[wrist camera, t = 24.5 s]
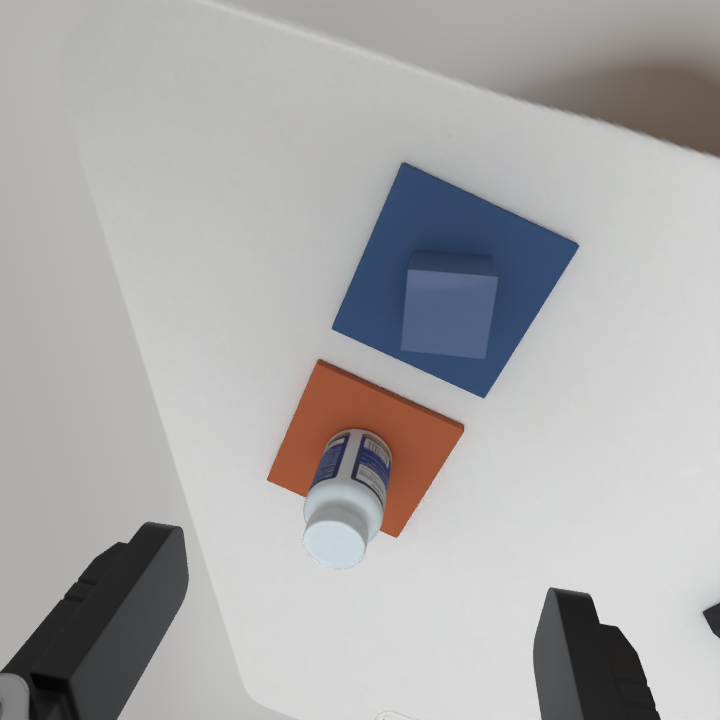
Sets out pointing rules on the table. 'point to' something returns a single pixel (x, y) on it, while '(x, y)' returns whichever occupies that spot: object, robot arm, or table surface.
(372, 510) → the pill bottle
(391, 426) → the terracotta mat
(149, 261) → the table surface
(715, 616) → the picture frame
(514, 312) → the blue mat
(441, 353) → the blue block
